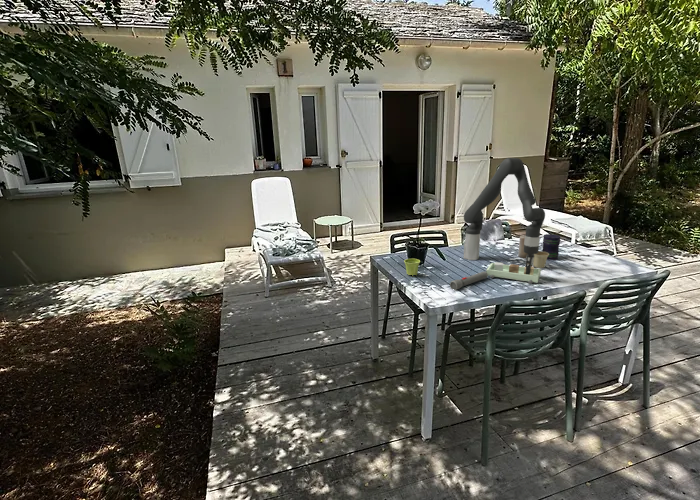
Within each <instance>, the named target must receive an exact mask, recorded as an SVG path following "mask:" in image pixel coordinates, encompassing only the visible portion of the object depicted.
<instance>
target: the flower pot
mask: <svg viewBox="0 0 700 500" xmlns="http://www.w3.org/2000/svg"><path fill="white" fill-rule="evenodd" d="M548 255H549V253H547V252H543V251H542V250H539V251H538V253H537V254H534V256H535V257H534V261H533V267H534V268H536V269H542V268H545V267H546V264H547V257H548Z"/></svg>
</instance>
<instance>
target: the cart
mask: <svg viewBox="0 0 700 500" xmlns="http://www.w3.org/2000/svg"><path fill="white" fill-rule="evenodd" d="M509 266H510V264H504V263H503V271H497V270H495V262H491V263H490V264H489V265H488V267H487V268H486V270H485V272H487V274H488V277H489V278H490V279H491V278H492V279H494V278H503V279H510V280H517V281H521V282H527V283H528V285H532V284H533V283H536V284H537V283H538V282H539V280H540V278H541V273H542V268H537V267H534V273H533V275H527V274H524V268H525V266H520V265H519V273H512V272H509Z"/></svg>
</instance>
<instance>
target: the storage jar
mask: <svg viewBox="0 0 700 500" xmlns="http://www.w3.org/2000/svg"><path fill="white" fill-rule="evenodd" d="M560 244H561V235H559V234H554V233H553V234H552V233H549V234H547V233H546V234H543V239H542V250H541V251H543V252H547V253H549V255H548V257H547V260H548V261H557V260H558V259H559V254H560V253H559V252H560V251H559V247H560ZM547 260H546V261H547Z"/></svg>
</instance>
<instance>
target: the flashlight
mask: <svg viewBox="0 0 700 500" xmlns="http://www.w3.org/2000/svg"><path fill="white" fill-rule="evenodd" d="M488 277H489V276H488V274H487V272H486V270H485V271H481V272H477V273H476V274H471V275H470V276H465V277H461V279H455V280H454V279H453V280H451V282H450V283H449V287H450V289H451V290H453V289H454V290H453V291H458V290H460V289H461V288H463V287H465V286H468V285H471V284H473V283H476V282H480V281H482V280H485V279H488Z"/></svg>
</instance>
